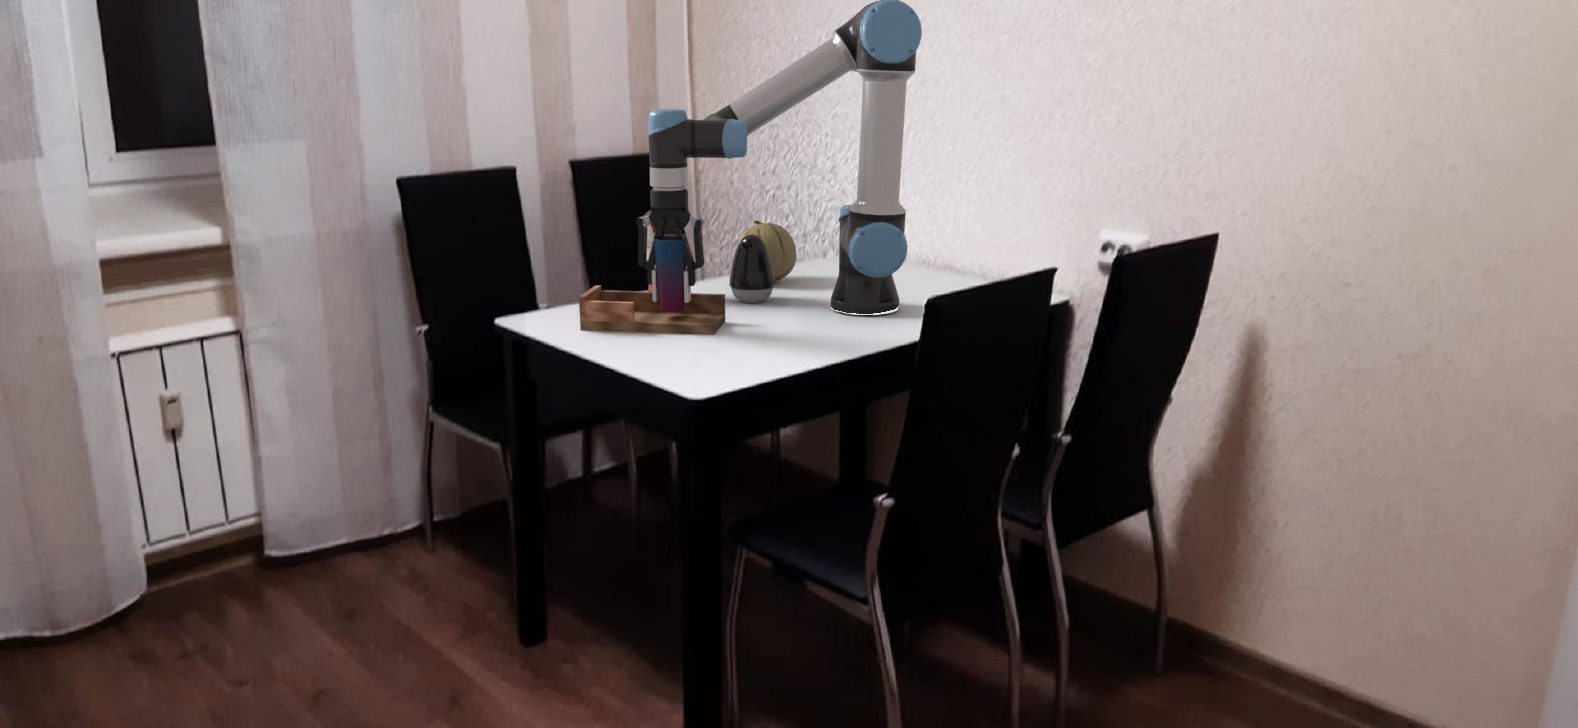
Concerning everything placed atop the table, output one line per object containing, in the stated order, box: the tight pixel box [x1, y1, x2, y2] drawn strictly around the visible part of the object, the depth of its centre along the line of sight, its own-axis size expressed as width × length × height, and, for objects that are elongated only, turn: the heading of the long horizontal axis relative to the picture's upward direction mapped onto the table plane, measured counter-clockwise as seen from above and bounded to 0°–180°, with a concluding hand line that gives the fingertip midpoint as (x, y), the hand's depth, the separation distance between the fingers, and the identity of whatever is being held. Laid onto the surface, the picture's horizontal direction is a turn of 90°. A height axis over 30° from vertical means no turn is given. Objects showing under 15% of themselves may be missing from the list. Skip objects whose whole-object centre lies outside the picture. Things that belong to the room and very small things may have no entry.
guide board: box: [578, 284, 726, 336], centre depth 239 cm, size 28×11×7 cm, turn 82°
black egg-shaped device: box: [729, 234, 775, 304], centre depth 260 cm, size 10×10×15 cm
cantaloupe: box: [736, 220, 797, 283], centre depth 279 cm, size 15×15×15 cm
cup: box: [654, 235, 688, 312], centre depth 236 cm, size 7×7×15 cm
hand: (671, 300), depth 238 cm, fingers closed on cup, 6 cm apart
